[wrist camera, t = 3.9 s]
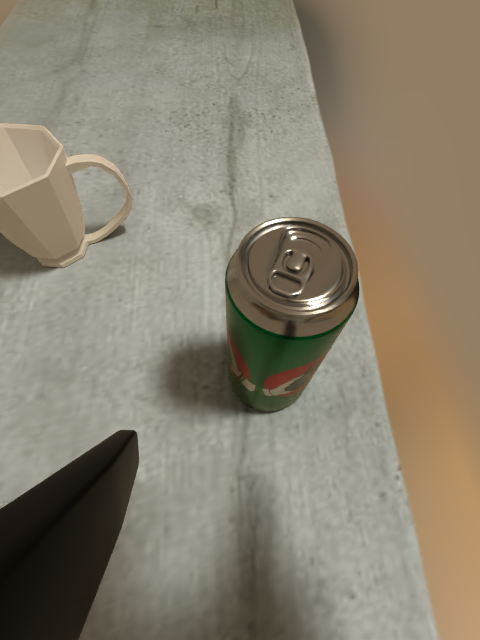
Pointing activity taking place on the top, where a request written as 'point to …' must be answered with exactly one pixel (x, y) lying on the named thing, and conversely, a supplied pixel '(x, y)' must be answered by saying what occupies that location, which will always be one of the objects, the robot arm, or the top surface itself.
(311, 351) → the soda can
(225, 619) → the top surface
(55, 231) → the cup
